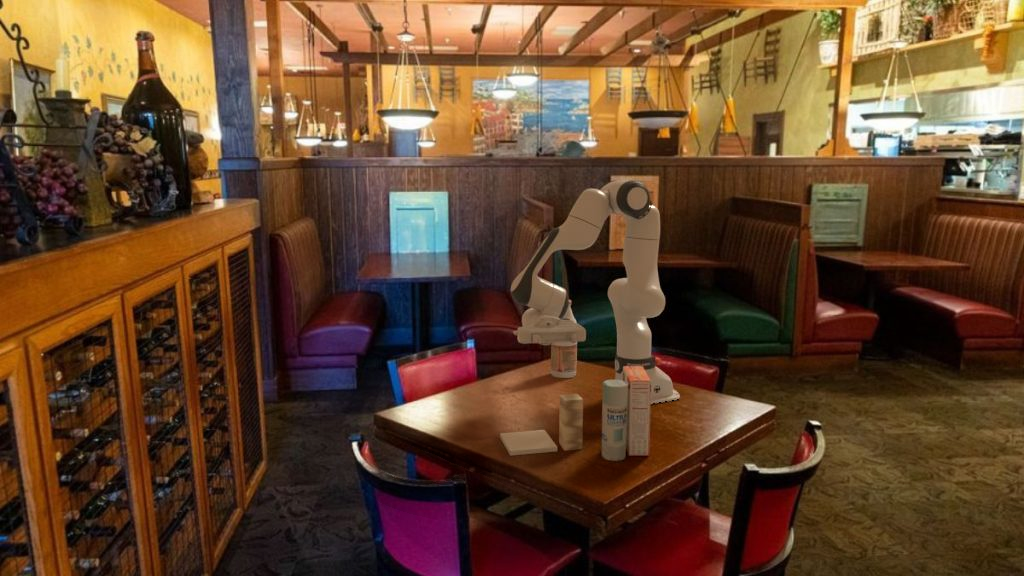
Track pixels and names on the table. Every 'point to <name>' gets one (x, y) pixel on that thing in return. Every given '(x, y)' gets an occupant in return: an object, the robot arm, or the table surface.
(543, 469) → the table surface
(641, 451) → the cracker box
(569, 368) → the fruit juice
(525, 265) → the robot arm
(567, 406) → the beech block
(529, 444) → the board
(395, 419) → the table surface
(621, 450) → the spray paint can
